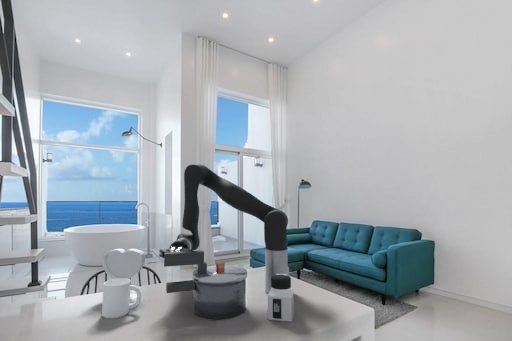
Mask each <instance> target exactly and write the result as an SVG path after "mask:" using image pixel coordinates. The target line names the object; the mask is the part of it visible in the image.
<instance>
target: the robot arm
mask: <svg viewBox="0 0 512 341" xmlns="http://www.w3.org/2000/svg"><path fill="white" fill-rule="evenodd" d="M183 174H184V175H183V183H184V206H183V207H184V208H183V216H182V225H181V227H182V229H185V230H187V231H189V232H190V233H179V234H178V235H177V237H176V239H175V241H173V242H172V243H171V244H170V246H169V247H168V248H167V249H163V248H160V249H159V254H158V255H159V258H162V259H164V253H165V252H183V251H197V250H198V248H200V242H201V241H200V236H199V234H200V233H199V219H200V205H199V198H198V192H199V186H200V185H201V186H204V187H206V188H207V189H210V190H211V191H213V192H214V193H215V194H216V196H218V197H219V198H220V199H221V200H222V201H223V202H224V203H225V204H227V205H228V206H230V207H231V208H233V209H235V210H238V211H240V212H242V213H244V214H248V215H250V216H252V217H255V218H256V219H258V220H260V221H261V222H263V223H264V224H263V229H264V230H263V232H264V233H263V235H264V237H263V238H264V243H265V253H264V254H265V259H264V260H265V261H264V262H265V268H264V269H265V270H264V272H265V274H264V275H265V277H264V278H265V281H264V282H265V283H264V284H265V293H266V294H269V292H270V290H271V277H272V276H273V275H275V274H285V275H288V276H290V267H289V266H288V261H289V260H288V238H287V232H288V231H287V226H288V224H289V218H288V215H287V214H286V213H285V212H284V211H282V210H280V209H277V208H275V207H274V206H271V205H268V204H267V203H265V202H264V201H262V200H260V199H259V198H257V197H256V196H254V195H253V194H252V193H250V192H249V191H247V190H246V189H244V188H243V187H241V186H239V185H237V184H235V183H233V182H231V181H229V180H228V179H226V178H224V177H221V176H220V175H218V174H217V173H215V172H214V171H213V170H211V169H210V168H209V167H207V166H206V165H204V164H200V163H191V164H188V165H187V166H186V167H185V169H184V172H183Z"/></svg>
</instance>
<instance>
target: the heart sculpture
mask: <svg viewBox="0 0 512 341" xmlns="http://www.w3.org/2000/svg"><path fill="white" fill-rule="evenodd" d="M145 253H146V252H144V251H143V250H141V249H137V248H129V249H127V250H126V249H124V248H122V247H121V248H114V249H112V250H108V251H106V252H104V254H102V258H101V262H102V268H103V271H105V274H107V276H108V277H110V278H111V280H112V279H120V278H125V279H130V280H131V278H134V276H136V275H137V274H138V273H140V272H141V270H142V269H143V267H144V266H145V262H146V254H145ZM133 299H135V300H136V299H137V293H130V300H133Z"/></svg>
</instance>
